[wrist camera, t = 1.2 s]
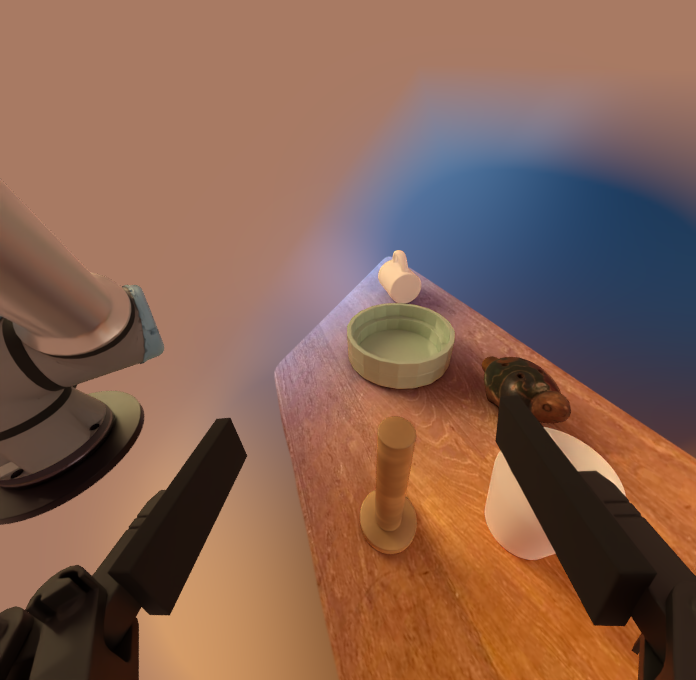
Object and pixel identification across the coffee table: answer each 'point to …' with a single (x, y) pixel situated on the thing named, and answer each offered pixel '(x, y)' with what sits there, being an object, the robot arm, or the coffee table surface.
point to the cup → (513, 508)
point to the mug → (399, 279)
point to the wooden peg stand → (391, 490)
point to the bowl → (400, 345)
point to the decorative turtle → (525, 387)
